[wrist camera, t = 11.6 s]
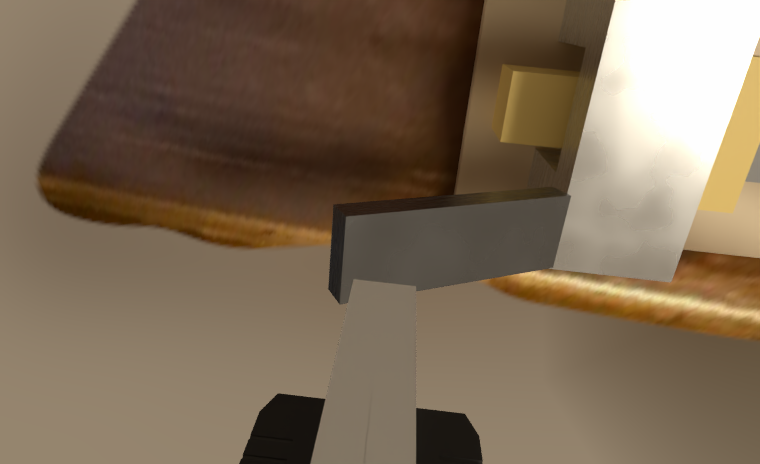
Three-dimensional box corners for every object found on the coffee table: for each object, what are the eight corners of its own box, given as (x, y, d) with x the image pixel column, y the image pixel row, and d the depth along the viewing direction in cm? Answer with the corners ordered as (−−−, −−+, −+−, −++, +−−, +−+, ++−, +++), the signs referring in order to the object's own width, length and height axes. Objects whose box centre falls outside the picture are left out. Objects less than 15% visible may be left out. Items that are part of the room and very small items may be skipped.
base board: (500, -102, 23) (504, -107, 22) (1115, -44, 22) (1145, -46, 21) (450, 216, 29) (451, 223, 28) (933, 270, 28) (950, 279, 27)
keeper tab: (333, 204, 16) (345, 216, 15) (552, 186, 20) (571, 195, 19) (328, 289, 17) (339, 304, 16) (535, 256, 21) (552, 267, 20)
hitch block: (576, -45, 22) (631, -64, 17) (693, -34, 22) (789, -49, 17) (520, 213, 27) (548, 268, 21) (617, 224, 27) (671, 282, 21)
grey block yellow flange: (508, 29, 24) (529, 34, 19) (831, 61, 23) (932, 74, 19) (486, 157, 26) (500, 188, 22) (779, 187, 26) (857, 226, 21)
